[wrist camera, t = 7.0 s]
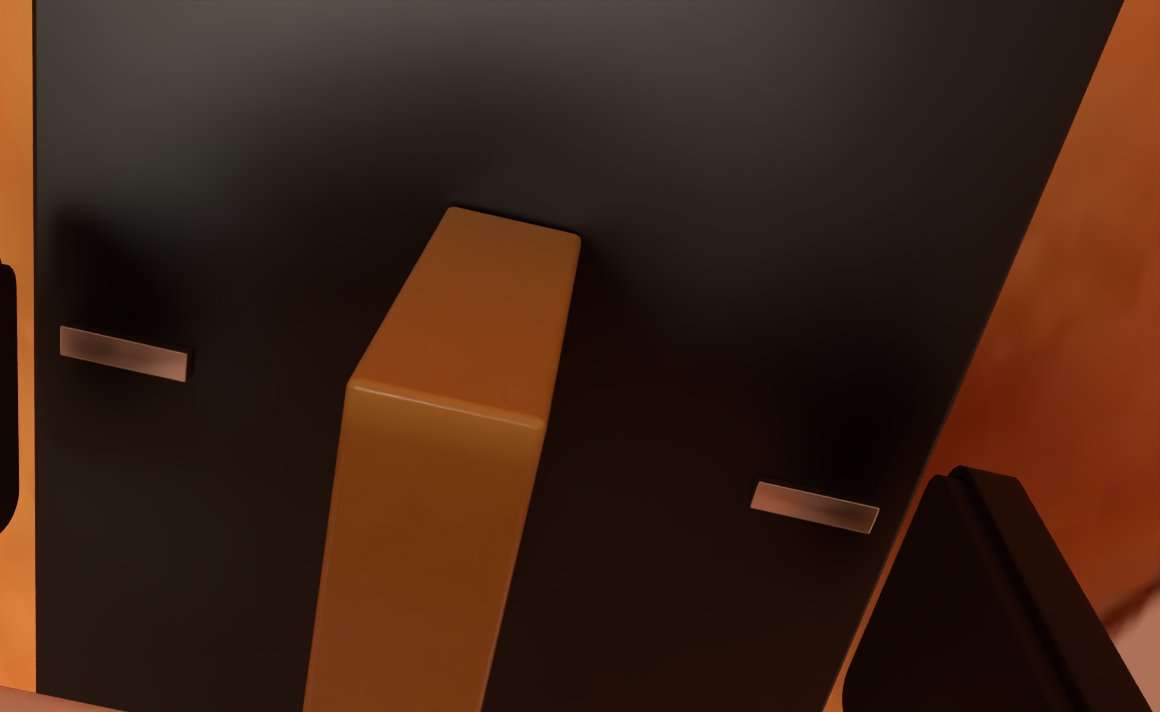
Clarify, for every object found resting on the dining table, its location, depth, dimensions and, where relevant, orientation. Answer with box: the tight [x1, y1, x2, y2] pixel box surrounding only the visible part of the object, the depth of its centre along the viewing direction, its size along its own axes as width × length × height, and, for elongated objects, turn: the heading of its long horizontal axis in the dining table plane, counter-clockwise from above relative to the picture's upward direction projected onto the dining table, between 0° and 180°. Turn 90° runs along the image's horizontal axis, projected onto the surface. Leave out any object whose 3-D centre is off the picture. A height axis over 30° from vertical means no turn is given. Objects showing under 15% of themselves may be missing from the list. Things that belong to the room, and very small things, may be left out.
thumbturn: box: [303, 207, 581, 712], centre depth 10 cm, size 5×1×4 cm, turn 168°
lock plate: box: [32, 0, 1124, 712], centre depth 13 cm, size 10×12×3 cm
